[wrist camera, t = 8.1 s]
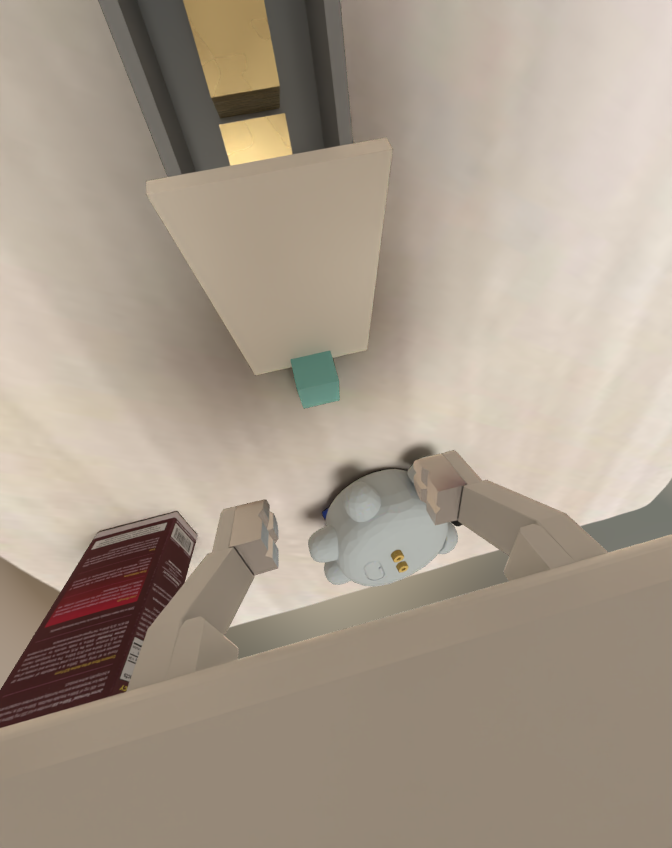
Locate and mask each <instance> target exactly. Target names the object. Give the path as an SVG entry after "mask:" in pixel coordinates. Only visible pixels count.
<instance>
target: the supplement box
mask: <svg viewBox="0 0 672 848" xmlns="http://www.w3.org/2000/svg"><path fill="white" fill-rule="evenodd" d="M196 539H197V534H196V533H195V532H194V531H193V530H192V528H191V527H190V526H189V525H188V524H187V522H186V521H185V520H184V519H183V518H182V517H181V515H180V514H179V513H178V512H174V513H170V514H166V515H163V516H159V517H155V518H151V519H148V520H144V521H140V522H136V523H132V524H129V525H125V526H121V527H117V528H113V529H110V530H106V531H102V532H99V533H97V534H96V536H95V537H94V539H93V541H92V542H91V544H90V545H89V547H88V549H87V550H86V552H85V553H84V555H83V557H82V558H81V560H80V562H79V563H78V565H77V566H76V568H75V570H74V571H73V573H72V575H71V576H70V578H69V580H68V581H67V583H66V584H65V586H64V588H63V589H62V591H61V592H60V594H59V596H58V598H57V599H56V601H55V602H54V604H53V605H52V607H51V609H50V610H49V612H48V614H47V615H46V617H45V618H44V620H43V622H42V623H41V625H40V627H39V628H38V630H37V631H36V633H35V635H34V636H33V638H32V639H31V641H30V643H29V644H28V646H27V648H26V649H25V651H24V652H23V654H22V656H21V657H20V659H19V660H18V662H17V664H16V665H15V667H14V669H13V670H12V672H11V673H10V675H9V677H8V678H7V680H6V682H5V683H4V685H3V686H2V688H1V690H0V728H2V727H6V726H9V725H13V724H16V723H20V722H23V721H27V720H30V719H34V718H37V717H41V716H44V715H47V714H51V713H54V712H58V711H61V710H65V709H68V708H72V707H75V706H79V705H82V704H86V703H89V702H92V701H96V700H99V699H103V698H106V697H110V696H113V695H117V694H120V693H124V692H126V691H127V688H128V685H129V682H130V679H131V676H132V673H133V670H134V668H135V665H136V662H137V659H138V656H139V653H140V650H141V647H142V644H143V642H144V639H145V636H146V633H147V630H148V628H149V627H150V626H151V625H152V623H153V622H154V621H155V620H156V618H157V617H158V616H159V614H160V613H161V612H162V611H163V609H164V608H165V607H166V606H167V604H168V603H169V602H170V601H171V599H172V598H173V597H174V596H175V594H176V593H177V592H178V591H179V589H180V588H181V587H182V586H183V584H184V583H185V579H186V575H187V572H188V568H189V564H190V561H191V557H192V554H193V550H194V546H195V543H196Z"/></svg>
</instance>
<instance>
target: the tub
mask: <svg viewBox="0 0 672 848" xmlns="http://www.w3.org/2000/svg"><path fill="white" fill-rule="evenodd" d="M98 1H99V4H100V6H101V9H102V11H103V14H104V16H105V19H106V21H107V24H108V26H109V29H110V32H111V34H112V37H113V39H114V42H115V44H116V47H117V49H118V52H119V54H120V57H121V59H122V62H123V65H124V67H125V70H126V72H127V75H128V77H129V80H130V82H131V85H132V87H133V90H134V93H135V95H136V98H137V100H138V103H139V105H140V108H141V110H142V113H143V115H144V118H145V120H146V123H147V126H148V128H149V131H150V133H151V136H152V138H153V141H154V143H155V146H156V148H157V151H158V154H159V156H160V159H161V161H162V164H163V166H164V169H165V171H166V174H167V176H168V177H171V176H177V175H182V174H188V173H193V172H199V171H204V170H210V169H215V168H221V167H226V166H231V165H230V162H229V158H228V155H227V152H226V148H225V145H224V141H223V138H222V134H221V131H220V127H219V125H220V124H226V123H231V122H237V121H243V120H248V119H254V118H260V117H265V116H271V115H277V114H282V113H285V116H286V122H287V127H288V132H289V138H290V143H291V148H292V154H298V153H303V152H309V151H314V150H320V149H325V148H331V147H336V146H342V145H347V144H353V137H352V127H351V116H350V105H349V94H348V83H347V72H346V61H345V50H344V39H343V28H342V17H341V6H340V0H264V3H265V9H266V14H267V20H268V25H269V30H270V36H271V41H272V46H273V52H274V57H275V62H276V68H277V73H278V79H279V84H280V108H278V109H272V110H266V111H261V112H255V113H249V114H244V115H238V116H232V117H226V118H221V119H220V117H219V114H218V112H217V110H216V108H215V105H214V103H213V101H212V99H211V96H210V92H209V89H208V85H207V82H206V78H205V75H204V72H203V68H202V65H201V61H200V58H199V54H198V51H197V47H196V44H195V40H194V37H193V33H192V30H191V26H190V23H189V19H188V16H187V12H186V9H185V5H184V2H183V0H98Z"/></svg>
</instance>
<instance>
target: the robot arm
mask: <svg viewBox="0 0 672 848" xmlns="http://www.w3.org/2000/svg"><path fill="white" fill-rule="evenodd" d="M414 470H415V471H416V474H415V475H414V486H415V490H416V492H417V494H418V496H419V498H420V500H421V501H422V502H424V503H426V511H427V512H428V514H429V516H430V518H431V519H432V521H433V523H434V525H440V524H444V523H448V522H452V521H456V520H458V522H460V523H461V524H463V525H464V526H466V527H467V528H469V529H470V530H472V531H473V532H474V533H476V534H477V535H479V536H480V537H482V538H483V539H485V540H486V541H488V542H489V543H491V544H492V545H494V546H495V547H496V548H498V549H499V550H501V551H503V552H504V553H505V554H507V555H508V556H509V558H508V561H507V563H506V566H505V569H504V572H503V573H504V574H505V576H506V578H507V579H508V582H505V583H501V584H498V585H494V586H491V587H487V588H484V589H481V590H477V591H474V592H470V593H467V594H463V595H460V596H456V597H453V598H449V599H446V600H442V601H439V602H435V603H432V604H428V605H425V606H421V607H418V608H415V609H411V610H408V611H404V612H401V613H398V614H394V615H390V616H387V617H383V618H380V619H376V620H373V621H370V622H366V623H363V624H359V625H356V626H352V627H349V628H345V629H342V630H339V631H335V632H332V633H328V634H324V635H321V636H318V637H314V638H311V639H308V640H304V641H301V642H297V643H293V644H290V645H287V646H283V647H279V648H276V649H272V650H269V651H266V652H263V653H259V654H255V655H252V656H248V657H245V658H241V659H238V650H239V649H238V648H237V647H236V645H234V644H233V643H232V642H231V641H230V640H229V639H227V638H226V637H225V634H226V632H227V630H228V628H229V626H230V624H231V622H232V620H233V618H234V616H235V614H236V612H237V611H238V609H239V607H240V605H241V603H242V601H243V599H244V597H245V595H246V593H247V591H248V589H249V587H250V585H251V583H252V581H253V579H254V575H258V574H261V573H264V572H268V571H271V570H274V569H277V568H278V548H277V546H276V545H275V543H276V541H277V540H278V526H277V521H276V518H275V516H274V513H272V512H270V511H269V508H270V505H269V503H268V502H267V500H265V499H264V500H260V501H255V502H251V503H247V504H243V505H238V506H235V507H231V508H226V509H223V511H222V512H221V515H220V519H219V524H218V528H217V533H216V537H215V541H214V546H213V550H212V553H209V554H207V555H206V557H205V558H204V559H203V560H202V562H201V563H200V564H199V565H198V567H197V568H196V569H195V570H194V572H193V573H192V574H191V575H190V577H189V578H188V579H187V580H186V582H185V583H184V584H183V586H182V587H181V588H180V589H179V591H178V592H177V593H176V594H175V596H174V597H173V598H172V599H171V601H170V602H169V603H168V604H167V606H166V607H165V608H164V609H163V611H162V612H161V613H160V614H159V616H158V617H157V618H156V620H155V621H154V622H153V623H152V625H151V626H150V627H149V628H148V630H147V633H146V636H145V639H144V642H143V644H142V647H141V650H140V653H139V656H138V659H137V662H136V665H135V668H134V670H133V673H132V676H131V679H130V682H129V685H128V688H127V691H126V692H124V693H120V694H117V695H113V696H110V697H106V698H103V699H99V700H96V701H92V702H89V703H86V704H82V705H79V706H75V707H72V708H68V709H65V710H61V711H58V712H54V713H51V714H47V715H44V716H41V717H37V718H34V719H30V720H27V721H23V722H20V723H16V724H13V725H9V726H6V727H2V728H0V848H672V534H671V535H668V536H664V537H661V538H657V539H654V540H650V541H647V542H644V543H640V544H637V545H633V546H630V547H626V548H623V549H619V550H616V551H613V552H609V553H608V552H607V551H606V550H605V549H604V548H603V547H602V546H601V545H600V544H598V542H596V541H595V540H594V539H593V538H592V537H591V536H590V535H589V534H588V533H587V532H586V531H584V530H583V529H582V528H581V527H580V526H579V525H578V524H577V523H576V522H575V521H574V520H573V519H571V518H570V517H569V516H568V515H567V514H566V513H563V512H561V511H559V510H556V509H554V508H552V507H549V506H547V505H545V504H542V503H540V502H538V501H535V500H533V499H531V498H528V497H526V496H524V495H521V494H519V493H517V492H514V491H512V490H509V489H507V488H505V487H502V486H500V485H498V484H495V483H493V482H491V481H488V480H484V481H482V479H481V478H480V477H479V476H478V475H477V474H476V473H475V472H474V471H473V469H472V468H471V467H470V466H469V465H468V464H467V463H466V462H465V461H464V459H463V458H462V457H461V456H460V455H459V454H458V453H457V452H456V451H454V450H452V451H448V452H445V453H441V454H437V455H433V456H429V457H426V458H422V459H418V460H415V461H414Z"/></svg>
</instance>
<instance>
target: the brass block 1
mask: <svg viewBox="0 0 672 848" xmlns="http://www.w3.org/2000/svg"><path fill="white" fill-rule="evenodd" d="M183 2H184V5H185V9H186V12H187V16H188V19H189V23H190V26H191V30H192V33H193V37H194V40H195V44H196V47H197V51H198V54H199V58H200V61H201V65H202V68H203V72H204V75H205V78H206V82H207V85H208V89H209V92H210V96H211V99H212V101H213V103H214V105H215V108H216V110H217V112H218V114H219V117H220V119H221V118H226V117H232V116H238V115H244V114H249V113H255V112H261V111H266V110H272V109H278V108H280V84H279V79H278V73H277V68H276V62H275V57H274V52H273V46H272V41H271V36H270V30H269V25H268V20H267V14H266V9H265V3H264V0H183Z"/></svg>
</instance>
